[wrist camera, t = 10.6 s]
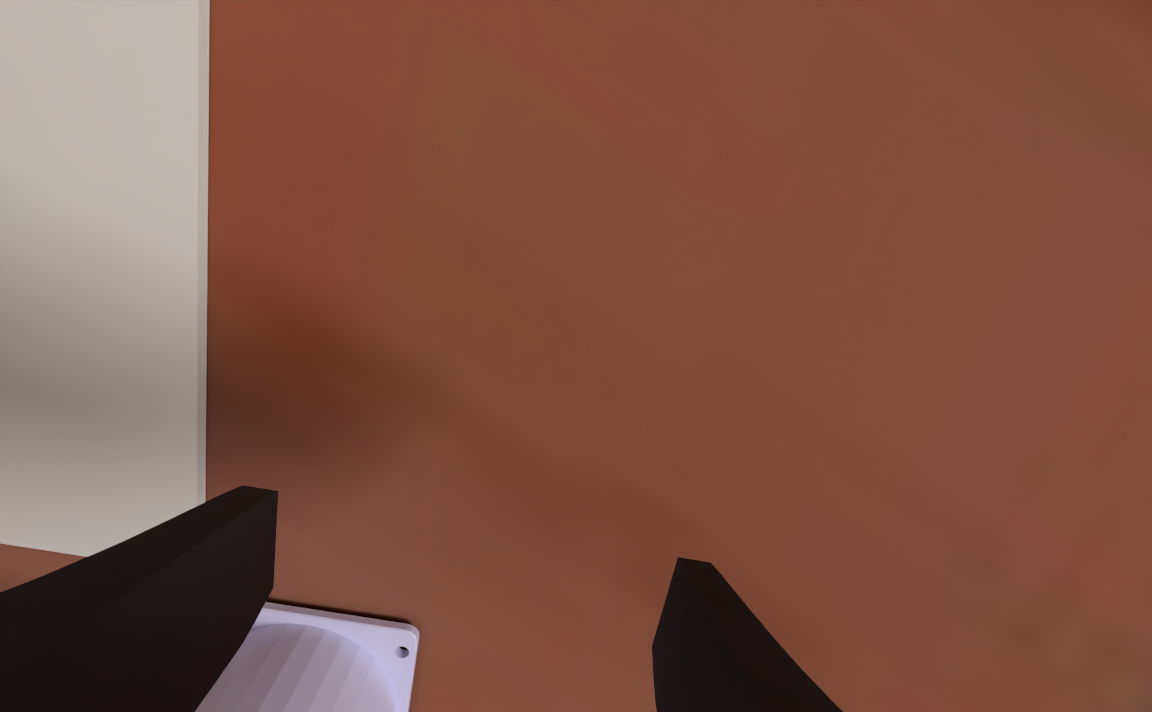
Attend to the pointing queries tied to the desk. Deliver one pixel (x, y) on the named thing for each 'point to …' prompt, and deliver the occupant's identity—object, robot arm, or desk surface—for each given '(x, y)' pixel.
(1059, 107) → the desk surface
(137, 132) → the mat
